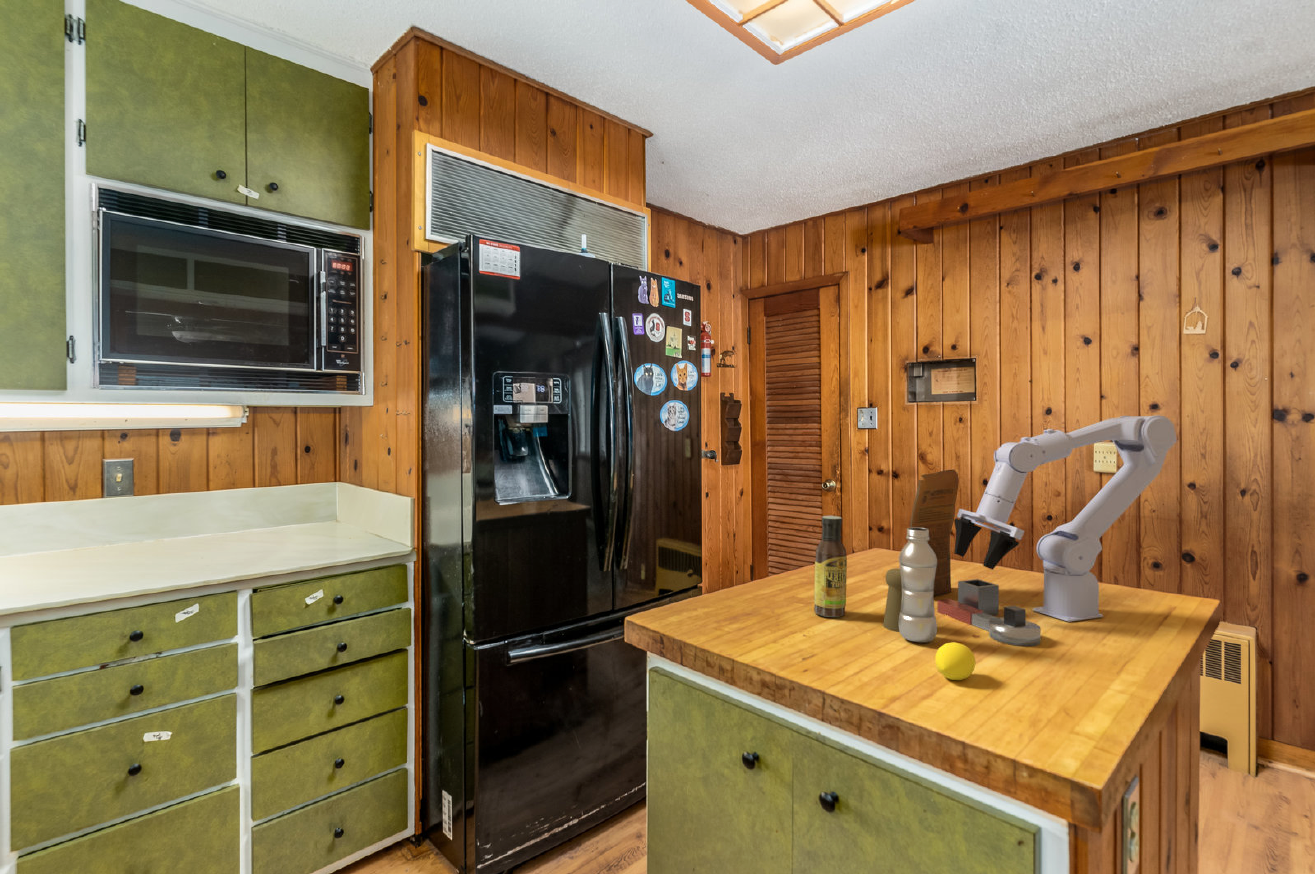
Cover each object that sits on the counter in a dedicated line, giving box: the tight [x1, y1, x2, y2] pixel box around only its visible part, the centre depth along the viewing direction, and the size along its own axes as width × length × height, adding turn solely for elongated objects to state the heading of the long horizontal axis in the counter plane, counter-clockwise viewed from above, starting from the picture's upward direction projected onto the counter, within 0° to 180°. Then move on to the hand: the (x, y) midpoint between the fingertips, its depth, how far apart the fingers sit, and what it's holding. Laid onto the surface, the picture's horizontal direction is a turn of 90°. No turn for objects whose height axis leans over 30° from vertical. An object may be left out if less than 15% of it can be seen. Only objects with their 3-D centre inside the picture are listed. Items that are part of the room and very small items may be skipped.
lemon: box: [934, 641, 977, 681], centre depth 95 cm, size 7×5×5 cm
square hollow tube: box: [957, 578, 1000, 616], centre depth 127 cm, size 5×5×6 cm
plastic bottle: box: [898, 527, 938, 643], centre depth 111 cm, size 6×7×20 cm
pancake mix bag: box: [909, 469, 959, 598], centre depth 140 cm, size 7×19×28 cm, turn 124°
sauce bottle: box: [813, 515, 848, 618], centre depth 126 cm, size 6×6×20 cm
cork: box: [882, 568, 902, 633], centre depth 118 cm, size 6×6×11 cm
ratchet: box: [937, 598, 1042, 647], centre depth 118 cm, size 8×21×6 cm, turn 18°
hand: (972, 561), depth 125 cm, fingers open, 7 cm apart
